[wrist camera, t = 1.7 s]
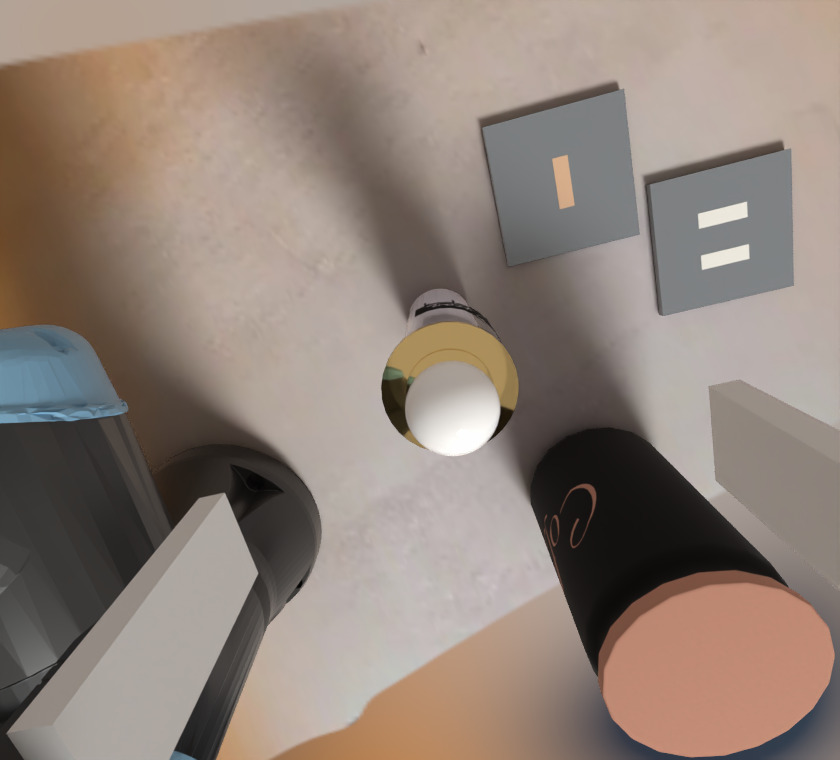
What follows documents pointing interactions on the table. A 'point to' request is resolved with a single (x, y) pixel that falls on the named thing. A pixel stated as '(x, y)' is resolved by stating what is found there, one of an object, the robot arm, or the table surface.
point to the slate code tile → (722, 232)
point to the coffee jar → (674, 602)
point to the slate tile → (563, 178)
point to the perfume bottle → (448, 378)
